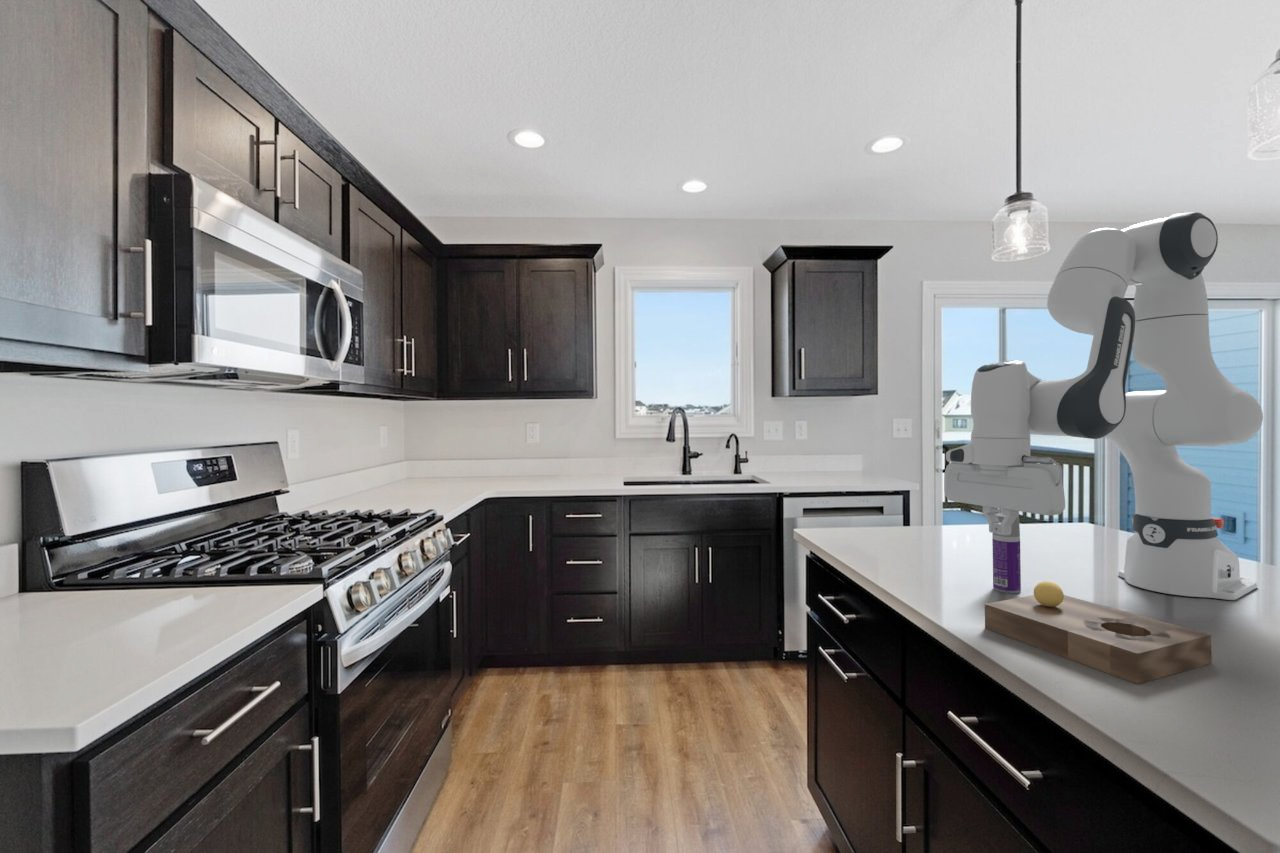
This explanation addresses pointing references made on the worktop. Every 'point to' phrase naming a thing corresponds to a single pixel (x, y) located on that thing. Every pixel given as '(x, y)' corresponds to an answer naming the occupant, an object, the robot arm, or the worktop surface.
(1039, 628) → the board
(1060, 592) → the ball
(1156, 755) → the worktop surface
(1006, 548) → the container
